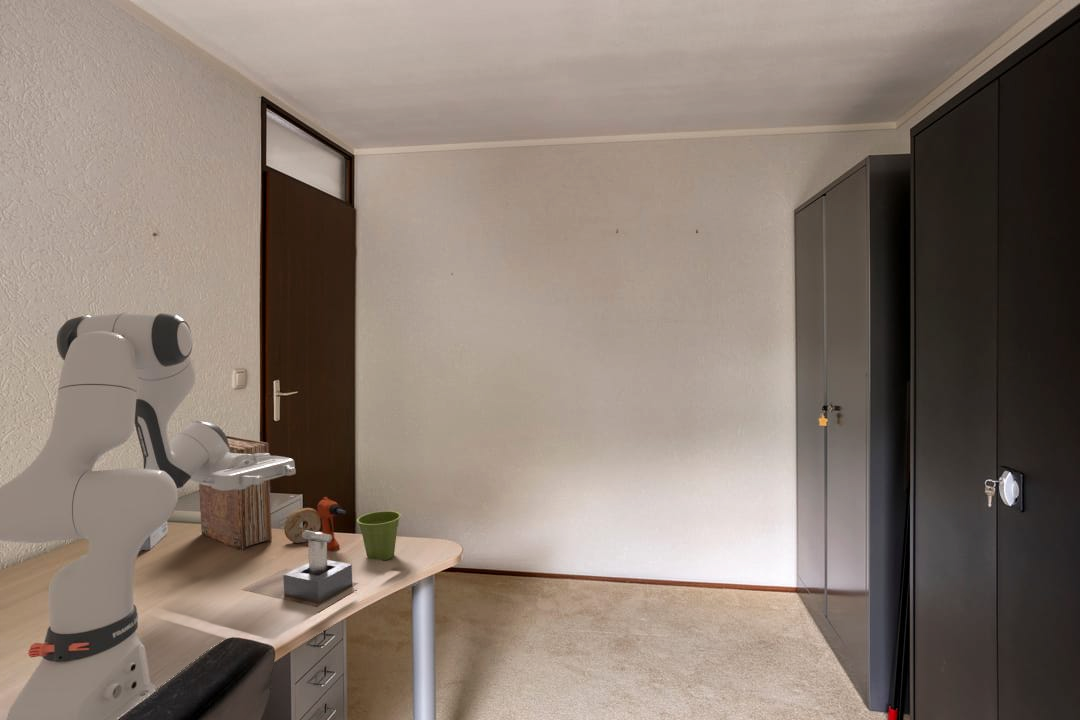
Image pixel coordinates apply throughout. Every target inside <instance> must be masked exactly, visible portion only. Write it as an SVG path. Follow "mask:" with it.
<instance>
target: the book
mask: <svg viewBox="0 0 1080 720" xmlns="http://www.w3.org/2000/svg"><path fill="white" fill-rule="evenodd" d="M226 437H227V439H228V443H229V447H230V451H229V452H230V453H238V454H259V453H269V443H268V442H264V441H259V440H254V439H248V438H241V437H235V436H230V435H229V436H227V435H226ZM270 480H271V479H270ZM270 480H266V481H264V482H263V483H262V484H258V485H255V484H252V485H250V486H248V487H247V488H245V489H242V490H236V489H233V490H229V491H222V490H218V489H214V488H212V487H211V486H207V485H203V484H199V483H198V485H199V487H198V488H199V504H200V505H199V507H200V508H199V509H200V526H201V535H203V536H206V537H207V538H210V539H212V540H214V541H217V542H220V543H221V544H224V545H227V546H230V547H232V548H233V549H234V548H235V549H236V550H239V551H243V550H244V548H247V547H250V546H252V545H257V544H260V543H262V542H266V541H268V542H272V539H273V538H272V535H273V534H272V511H271V484H270V483H271V482H270Z"/></svg>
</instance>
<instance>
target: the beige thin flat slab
mask: <svg viewBox="0 0 1080 720" xmlns="http://www.w3.org/2000/svg"><path fill="white" fill-rule="evenodd" d="M292 570H293V569H290V568H284V569H282V570H279V571H277V572H275V573H273V574H271V575H268V576H266V577H264V578H262V579H260V580H258V581H256V582H253V583H251V584H250V585H247V586H245V587H242V588H241V590H242V591H247V592H250V593H255V594H259V595H263V596H267V597H272V598H277V599H280V600H283V601H289V602H292V603H297V604H302V605H306V606H311V607H316V608H318V607H321V606H322V605H323V604H325V603H327V602H329V601H330V600H332V599H334V598H336V597H337V596H339V595H340V594H342V593H344V592H346V591H348V590H349V589H352V588H354V587H355V586H356V585H358V584H359V583H358V582H353V581H352V585H351V586H349V587H348V588H346V589H344V590H342V591H341V592H339V593H337V594H335V595H334V596H332V597H330V598H328V599H327V600H325V601H323V602H322V603H320V604H316V603H312V602H308V601H303V600H299V599H295V598H290V597H286V596H284V578H283V575H284V574H286V573H288V572H290V571H292ZM354 591H355V592H356V591H357V589H355V590H353V591H352V592H350V593H349V594H347V595H345V596H343V597H342V598H340V599H338V600H337V601H334V602H333V603H331V604H329V605H328V606H326V607H325V608H323V609H321V610H319V611H317V613H318V614H319V613H321V612H322V611H324V610H326V609H328V608H329V607H331V606H333V605H334V604H336V603H338V602H339V601H341V600H342V599H344V598H346V597H348V596H350V595H351V594H352V593H355V592H354Z"/></svg>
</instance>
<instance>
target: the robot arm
mask: <svg viewBox="0 0 1080 720" xmlns="http://www.w3.org/2000/svg"><path fill="white" fill-rule="evenodd" d="M56 348H57V350H58V354H59V356H60V357H61V359H62V360H63V364H62V367H61V371H60V377H59V381H58V386H57V387H58V388H57V396H56V404H55V409H54V416H53V421H52V424H51V430H50V432H49V436H48V439H47V441H46V442H45V445H44V446H43V448H42V450H41V451H40V452H39V454H38V455H37V457H35V459H34V460H33V461H32V462H31V463H30V464H29V465H28V466H27V467H26V468H25V469H24V470H23V471H22V472H21V473H19V474H18V475H17V476H15V477H13V478H12V479H11V480H9V481H8V482H5V483H4V484H3V485H0V541H3V542H12V543H23V544H24V543H26V544H29V543H30V544H41V543H43V544H44V543H50V542H51V543H52V542H61V541H70V540H79V539H87V540H88V551H87V553H86V554H85V553H84V554H83V555H81V556H79V557H78V558H76V559H74V560H72V561H70V562H68V563H67V564H66V565H63V567H61V568H60V569H59V570H58V571H57V572H56V573H55V574H54V575H53V577H52V578H51V580H50V582H49V585H48V588H47V589H48V604H49V605H48V606H49V609H48V610H49V623H50V624H49V626H48V628H47V630H46V635H45V637H44V642H43V643H41V642H34V643H32V644H31V645H30V647H29V649H28V653H27V654H28V657H30V658H36V657H42V658H41V660H40V662H39V663H38V665H37V666H36V668H35V670H33V672H32V674H31V676H30V678H28V679H27V682H26V684H25V685H24V687H23V688H22V689H21V691H20V692H19V694H18V695H17V696H16V699H15V700H14V701H13V703H12V705H11V706H10V707H9V710H8V712H7V718H6V720H117V718H118V717H120V716H121V715H122V714H124V713H125V712H127V711H128V710H130V709H131V708H132V707H134V706H135V705H136V704H137V703H139V702H140V701H142V700H143V699H144V698H146V697H147V696H148V695H149V694H151V693H152V692H153V691H154V690H156V689H157V690H158V688H157V685H156V684H154V683H152V682H151V678H150V672H149V665H148V659H147V653H146V648H145V645H144V644H143V643H142V642H141V639H140V638H139V636H138V633H137V629H138V627H139V625H138V620H139V613H138V609H137V606H136V605H135V604H134V575H135V574H134V572H135V565H136V561H137V558H138V555H139V553H140V552H141V551H140V549H141V547H142V545H143V544H144V542H145V541H146V540H147V538H148V537H149V536H150V535H151V534H152V533H153V532H154V531H155V530H156V529H158V528H159V527H160V526H162V525H163V524H164V523H165V522H166V521H167V522H168V520H169V519H170V518H171V517H172V515H173V513H174V512H175V510H176V507H177V504H178V500H179V493H178V489H181V488H183V487H184V486H185V485H186V483H188V481H192V482H195V483H197V484H198V485H199V484H203V485H207V486H211V487H212V488H214V489H218V490H222V491H229V490H233V489H236V490H242V489H245V488H247V487H248V486H250V485H252V484H255V485H258V484H262V483H263V482H264V481H266V480H274V479H277V478H280V477H283V476H293V475H296V473H297V471H296V468H295V467H296V465H295V463H296V462H295V460H294V458H290V457H286V456H280V455H279V456H278V455H271V454H270V453H269V452H268V453H259V454H238V453H230V452H229V451H230V447H229V443H228V439H227V437H226V436H227V435H226V433H225V432H224V431H223V430H222V429H221V428H220V427H219V426H217V425H216V424H214V423H211V422H207V421H202V420H201V421H200V420H196V421H192V422H191V423H190V424H188V425H187V426H186V427H184V428H183V429H182V430H181V431H179V433H177V434H176V435H175V436H174V437H173V438H171V439H170V440H169V437H168V433H167V432H168V431H167V426H168V422H170V421H169V420H170V419H171V417H172V416H173V414H174V413H175V411H176V409H178V407H179V406H180V405H181V403H182V402H183V401H184V399H186V398H187V397H188V395H189V394H190V392H191V391H192V390H193V388H194V385H195V382H196V369H195V366H194V363H193V360H192V358H191V356H190V355H191V353H192V348H193V334H192V331H191V328H190V326H189V324H188V322H187V321H185V320H184V319H183V318H182V317H180V316H179V315H175V314H171V313H158V314H152V313H126V312H119V313H109V314H108V313H107V314H98V315H93V316H91V315H82V316H81V315H80V316H76V317H73V318H70V319H67V321H65V323H64V324H62V326H61V327H60V328H59V330H58V332H57V334H56ZM134 430H135V431H136V435H137V439H138V441H139V446H140V450H141V453H142V458H143V459H142V460H143V463H142V465H143V468H139V467H131V468H129V467H128V468H116V469H104V470H93V469H94V466H95V464H96V463H97V461H98V460H99V459H100V458H101V457H102V456H103V455H104V454H105V453H107V452H110V451H112V450H113V449H116V448H118V447H119V446H121V445H123V444H124V443H125V442H126V441H127V440H129V438H130V437H132V435H133V432H134Z"/></svg>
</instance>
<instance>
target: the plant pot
mask: <svg viewBox="0 0 1080 720" xmlns="http://www.w3.org/2000/svg"><path fill="white" fill-rule="evenodd" d="M401 517H402V514H401V513H400V512H398V511H393V510H381V511H380V510H379V511H373V512H368V513H365V514H362V515H360V516H359V517H358V518H357V519H356V523H358V525H359V529H360V531H361V536H362V538H363V544H364V549H365V552H366V558H367V559H371V560H377V561H383V562H384V561H389V560H390V559H392V558H393V556H395V551H396V550H395V549H396V543H397V533H398V532H397V531H398V527H399V522H400V519H401Z"/></svg>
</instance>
